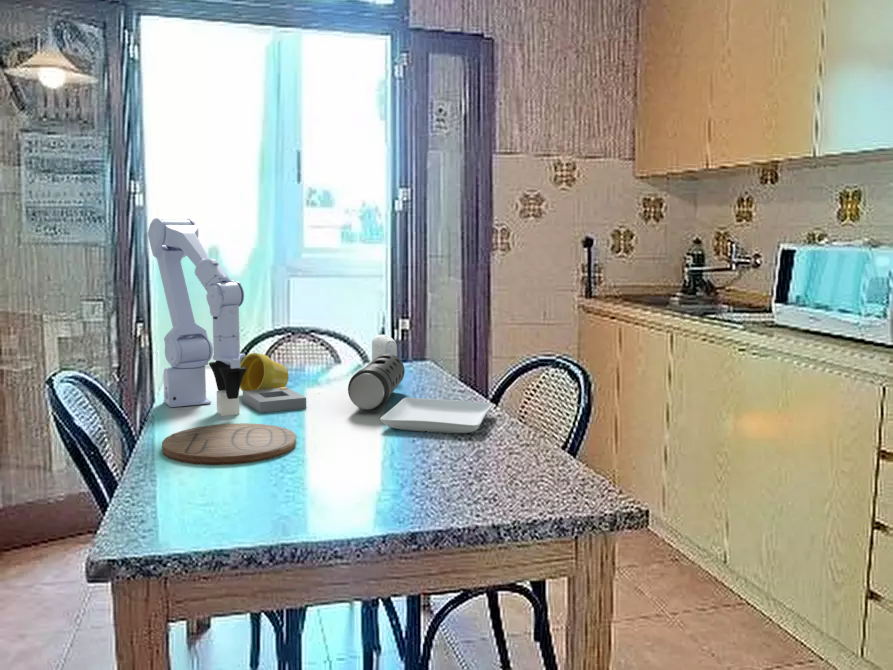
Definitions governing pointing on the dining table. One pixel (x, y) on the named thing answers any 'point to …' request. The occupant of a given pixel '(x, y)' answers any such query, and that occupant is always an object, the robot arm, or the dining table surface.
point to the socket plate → (274, 399)
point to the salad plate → (436, 415)
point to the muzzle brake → (376, 382)
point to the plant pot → (262, 373)
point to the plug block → (227, 404)
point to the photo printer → (383, 346)
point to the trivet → (228, 444)
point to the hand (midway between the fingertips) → (228, 395)
